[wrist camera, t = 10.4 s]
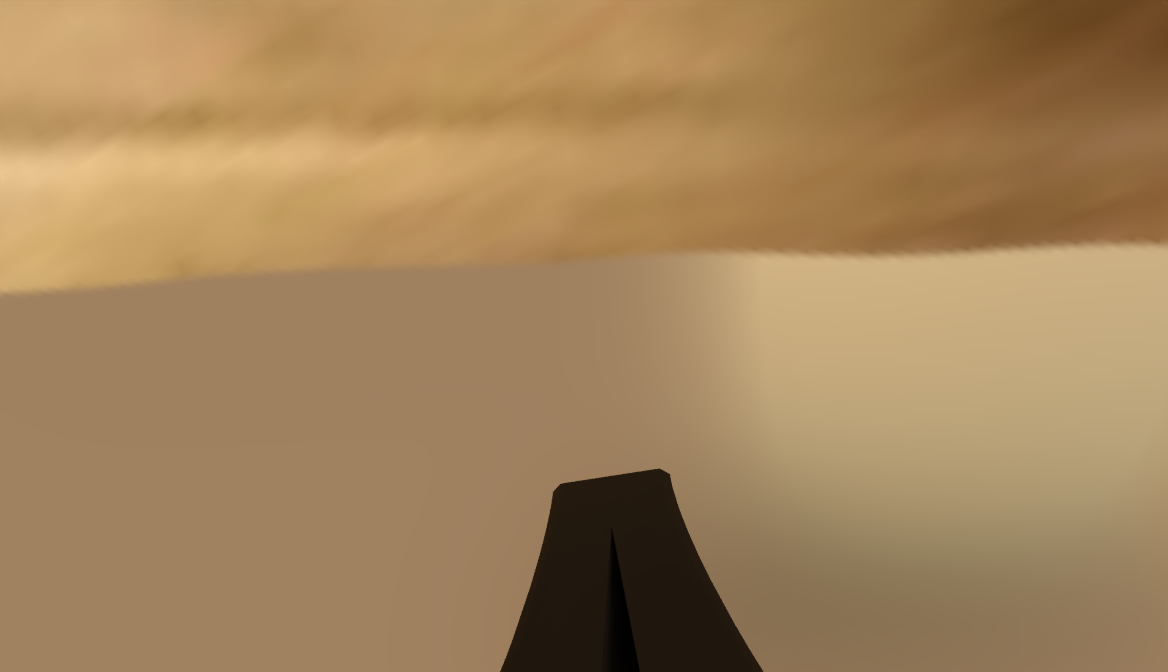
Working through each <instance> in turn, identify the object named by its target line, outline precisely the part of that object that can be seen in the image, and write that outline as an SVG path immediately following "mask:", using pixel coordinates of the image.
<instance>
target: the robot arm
mask: <svg viewBox="0 0 1168 672" xmlns="http://www.w3.org/2000/svg"><path fill="white" fill-rule="evenodd" d="M500 672H763V670H762V669H761V667H760V666H759V664H758V662H757V661H756V659H755V657H754V656H753V654H752V653H751V651H750V649H749V648H748V646H747V645H746V643H745V641H744V639H743V638H742V636H741V634H740V633H739V631H738V629H737V627H736V626H735V624H734V622H733V620H732V618H731V617H730V615H729V613H728V611H727V609H726V607H725V606H724V604H723V602H722V600H721V598H720V596H719V594H718V593H717V591H716V589H715V587H714V585H713V583H712V582H711V580H710V578H709V576H708V574H707V572H706V570H705V568H704V566H703V564H702V562H701V560H700V557H699V555H698V553H697V551H696V548H695V546H694V544H693V542H692V540H691V537H690V535H689V533H688V530H687V528H686V525H685V523H684V520H683V518H682V515H681V512H680V510H679V507H678V504H677V501H676V497H675V494H674V491H673V487H672V483H671V478H670V474H668V473H667V472H665V471H663V470H661V469H654V470H647V471H641V472H634V473H627V474H621V475H615V476H608V477H601V478H595V479H588V480H582V481H575V482H569V483H563V484H560V485H559V486H558V487H557V488H556V490H555V491H554V492H553V497H552V504H551V509H550V515H549V519H548V523H547V528H546V532H545V536H544V541H543V544H542V548H541V552H540V556H539V559H538V563H537V566H536V569H535V573H534V576H533V580H532V583H531V587H530V590H529V593H528V596H527V599H526V601H525V604H524V607H523V610H522V614H521V616H520V619H519V622H518V626H517V628H516V631H515V634H514V637H513V640H512V643H511V645H510V648H509V651H508V654H507V656H506V659H505V661H504V664H503V666H502V669H501V671H500Z"/></svg>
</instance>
